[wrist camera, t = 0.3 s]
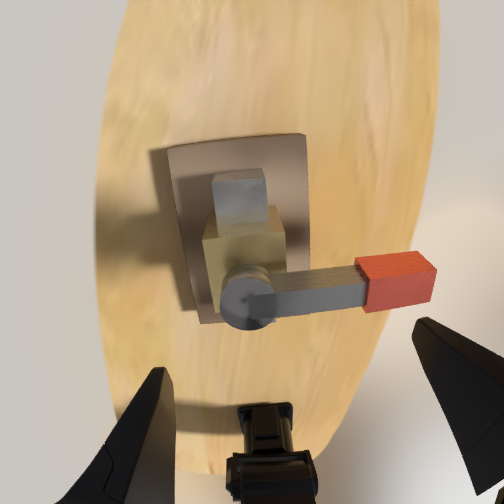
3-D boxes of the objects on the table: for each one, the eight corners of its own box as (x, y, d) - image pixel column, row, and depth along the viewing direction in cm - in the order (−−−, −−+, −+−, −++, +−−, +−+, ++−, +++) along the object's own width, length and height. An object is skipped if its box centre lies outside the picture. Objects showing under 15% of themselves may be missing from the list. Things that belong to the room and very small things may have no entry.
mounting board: (305, 300, 26) (309, 314, 24) (202, 309, 26) (200, 324, 24) (300, 133, 20) (306, 135, 18) (173, 146, 20) (166, 149, 18)
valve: (280, 297, 24) (291, 349, 18) (224, 302, 24) (220, 355, 18) (272, 167, 19) (285, 188, 14) (205, 174, 19) (191, 198, 14)
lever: (225, 308, 17) (223, 335, 15) (218, 264, 16) (214, 288, 13) (413, 285, 17) (431, 306, 15) (420, 244, 15) (441, 262, 13)
